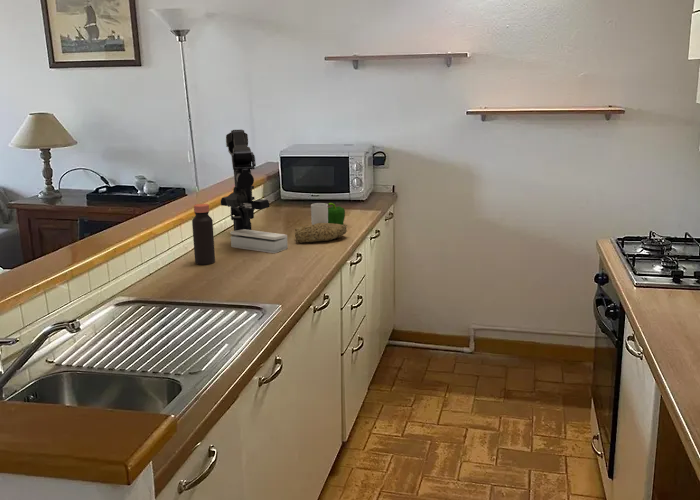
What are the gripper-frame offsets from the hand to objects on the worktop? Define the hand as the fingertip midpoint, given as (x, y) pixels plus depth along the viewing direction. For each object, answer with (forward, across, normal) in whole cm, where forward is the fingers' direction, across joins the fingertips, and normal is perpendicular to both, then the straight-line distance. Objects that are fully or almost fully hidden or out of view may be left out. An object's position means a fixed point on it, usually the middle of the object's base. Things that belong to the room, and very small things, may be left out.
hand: (245, 225), depth 259 cm
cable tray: (+8, +6, 0) cm, 10 cm away
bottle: (+8, +2, -25) cm, 26 cm away
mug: (+8, +14, +30) cm, 34 cm away
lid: (+3, +6, 0) cm, 7 cm away
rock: (+8, +20, +20) cm, 30 cm away
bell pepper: (+8, +12, +44) cm, 46 cm away
